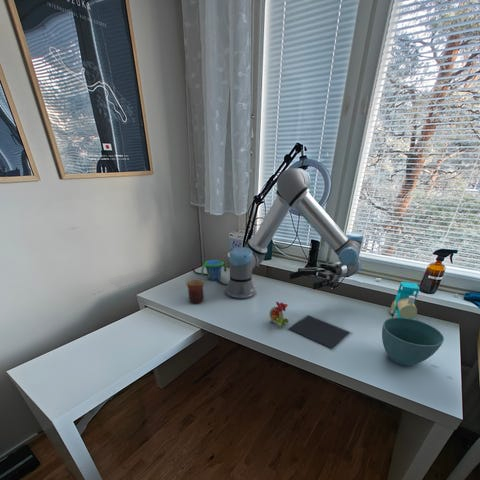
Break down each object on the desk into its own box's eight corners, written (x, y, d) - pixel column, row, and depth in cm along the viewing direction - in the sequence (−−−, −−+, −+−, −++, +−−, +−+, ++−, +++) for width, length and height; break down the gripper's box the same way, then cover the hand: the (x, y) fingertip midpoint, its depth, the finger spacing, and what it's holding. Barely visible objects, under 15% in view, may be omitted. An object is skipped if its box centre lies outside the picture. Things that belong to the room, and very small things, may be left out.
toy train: (393, 326, 117) (405, 295, 109) (389, 310, 130) (399, 281, 123) (414, 330, 114) (427, 298, 107) (407, 312, 128) (418, 283, 120)
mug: (203, 305, 132) (202, 286, 127) (186, 304, 132) (184, 285, 127) (207, 295, 142) (206, 276, 137) (190, 294, 142) (189, 276, 137)
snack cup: (204, 283, 156) (203, 266, 151) (199, 277, 165) (198, 261, 159) (229, 279, 161) (229, 263, 156) (223, 273, 170) (223, 258, 164)
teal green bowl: (369, 362, 95) (379, 333, 89) (378, 338, 108) (387, 312, 102) (428, 382, 87) (444, 352, 81) (430, 354, 100) (444, 326, 94)
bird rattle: (268, 328, 118) (284, 328, 111) (261, 305, 115) (278, 303, 109) (276, 323, 122) (292, 323, 115) (270, 300, 119) (286, 299, 113)
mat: (288, 329, 114) (288, 328, 114) (308, 316, 124) (308, 315, 124) (331, 349, 102) (331, 348, 102) (349, 332, 112) (349, 332, 112)
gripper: (356, 288, 116) (323, 299, 106) (313, 271, 134) (281, 280, 124) (360, 271, 112) (326, 282, 102) (315, 256, 130) (282, 264, 120)
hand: (301, 281), depth 113 cm, fingers open, 13 cm apart
